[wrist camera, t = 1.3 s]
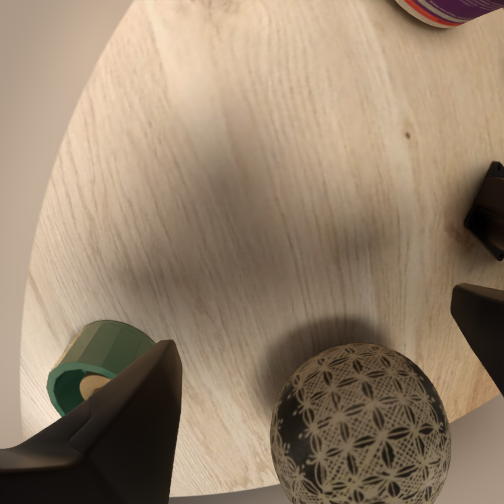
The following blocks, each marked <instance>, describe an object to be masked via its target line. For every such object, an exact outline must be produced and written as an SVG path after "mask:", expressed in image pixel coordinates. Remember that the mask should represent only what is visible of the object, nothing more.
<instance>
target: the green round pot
mask: <svg viewBox="0 0 504 504" xmlns="http://www.w3.org/2000/svg"><path fill="white" fill-rule="evenodd" d="M154 345H155V343H154V342H153V341H152V340H151V339H150V338H149V337H148V336H147V335H145V334H144V333H142V332H141V331H139V330H138V329H136V328H134V327H132V326H130V325H127V324H124V323H121V322H116V321H97V322H94V323H91V324H89V325H87V326H86V327H84V328H83V329H82V330H81V331H80V332H79V334H78V335H77V336H75V338H74V339H73V340H72V342H71V343H70V344H69V346H68V347H67V349H66V350H65V351H64V353H63V354H62V356H61V357H60V358H59V360H58V361H57V363H56V364H55V366H54V367H53V368H52V370H51V371H50V373H49V375H48V381H47V387H46V388H47V391H48V394H49V397H50V400H51V403H52V405H53V406H54V407H55V409H56V410H57V412H58V413H59V414H60V415H61V417H63V416H65V415H66V414H67V413H69V412H70V411H71V410H73V409H74V408H75V407H77V406H78V405H79V404H81V403H82V402H83V401H84V400H85V399H84V398H83V396H82V394H81V392H80V382H81V380H82V379H83V377H84V375H85V373H86V371H90V372H95V373H99V374H102V375H104V376H106V377H108V378H110V379H113V378H114V377H115V376H116V375H118V374H119V373H120V372H121V371H123V370H124V369H125V368H126V367H128V366H129V365H130V364H131V363H133V362H134V361H135V360H137V359H138V358H139V357H140V356H142V355H143V354H144V353H145V352H147V351H148V350H149V349H150V348H152V347H153V346H154Z"/></svg>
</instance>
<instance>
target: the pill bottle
mask: <svg viewBox="0 0 504 504" xmlns="http://www.w3.org/2000/svg"><path fill="white" fill-rule="evenodd" d="M395 1H396V2H397V3H398V4H399V5H400V6H401V7H402V8H403V9H405V10H406V11H407V12H408V13H410V14H411V15H413V16H414V17H416V18H417V19H419V20H421V21H422V22H425V23H427V24H429V25H432V26H436V27H441V28H452V27H456V26H459V25H461V24H463V23H466V22H468V21H470V20H472V19H475V18H477V17H480V16H482V15H484V14H487V13H489V12H492V11H494V10H497V9H500V8H502V7H504V0H395Z"/></svg>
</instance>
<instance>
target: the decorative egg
mask: <svg viewBox="0 0 504 504" xmlns="http://www.w3.org/2000/svg"><path fill="white" fill-rule="evenodd" d="M270 445H271V454H272V459H273V463H274V467H275V470H276V473H277V476H278V479H279V481H280V483H281V485H282V488H283V490H284V492H285V493H286V495H287V497H288V498H289V500H290V501H291V503H292V504H433V503H434V501H435V500H436V498H437V497H438V495H439V493H440V491H441V489H442V487H443V485H444V482H445V479H446V477H447V474H448V469H449V465H450V458H451V433H450V428H449V423H448V419H447V415H446V412H445V409H444V406H443V403H442V401H441V399H440V397H439V394H438V392H437V391H436V389H435V387H434V385H433V384H432V383H431V381H430V380H429V378H428V377H427V376H426V375H425V374H424V372H423V371H422V370H421V369H420V368H419V367H418V366H417V365H416V364H414V363H413V362H412V361H411V360H410V359H408V358H407V357H405V356H404V355H402V354H400V353H398V352H396V351H394V350H392V349H389V348H387V347H384V346H380V345H376V344H367V343H351V344H344V345H340V346H336V347H333V348H330V349H327V350H325V351H322V352H321V353H319V354H317V355H315V356H313V357H312V358H310V359H309V360H307V361H306V362H305V363H304V364H302V365H301V366H300V367H299V368H298V369H297V370H296V371H295V372H294V373H293V374H292V375H291V377H290V378H289V379H288V380H287V382H286V383H285V385H284V387H283V389H282V390H281V392H280V394H279V396H278V399H277V401H276V404H275V407H274V410H273V414H272V420H271V428H270Z"/></svg>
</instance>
